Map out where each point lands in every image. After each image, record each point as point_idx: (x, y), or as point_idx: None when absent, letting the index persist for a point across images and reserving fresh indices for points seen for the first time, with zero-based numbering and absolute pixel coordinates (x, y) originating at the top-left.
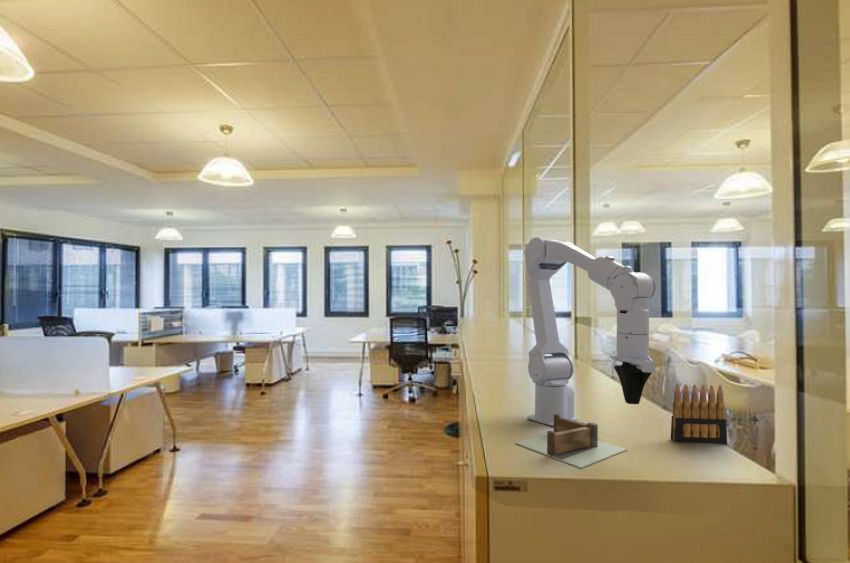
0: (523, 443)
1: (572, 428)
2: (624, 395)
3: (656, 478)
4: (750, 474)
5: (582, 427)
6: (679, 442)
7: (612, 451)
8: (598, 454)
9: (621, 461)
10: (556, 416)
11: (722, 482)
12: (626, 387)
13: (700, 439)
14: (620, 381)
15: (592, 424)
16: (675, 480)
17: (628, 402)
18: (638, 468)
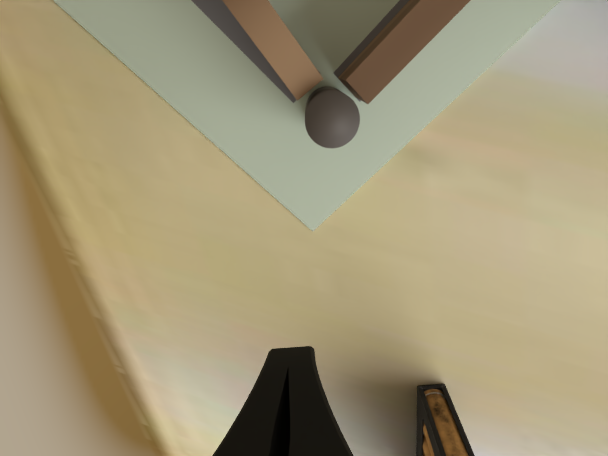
0: None
1: (396, 20)
2: (300, 373)
3: (88, 244)
4: (210, 444)
5: (304, 57)
6: (417, 395)
7: (278, 175)
8: (227, 111)
9: (196, 182)
10: None
11: (133, 379)
12: (226, 436)
13: (419, 446)
14: (341, 454)
15: (327, 120)
16: (96, 287)
17: (267, 356)
18: (150, 218)
